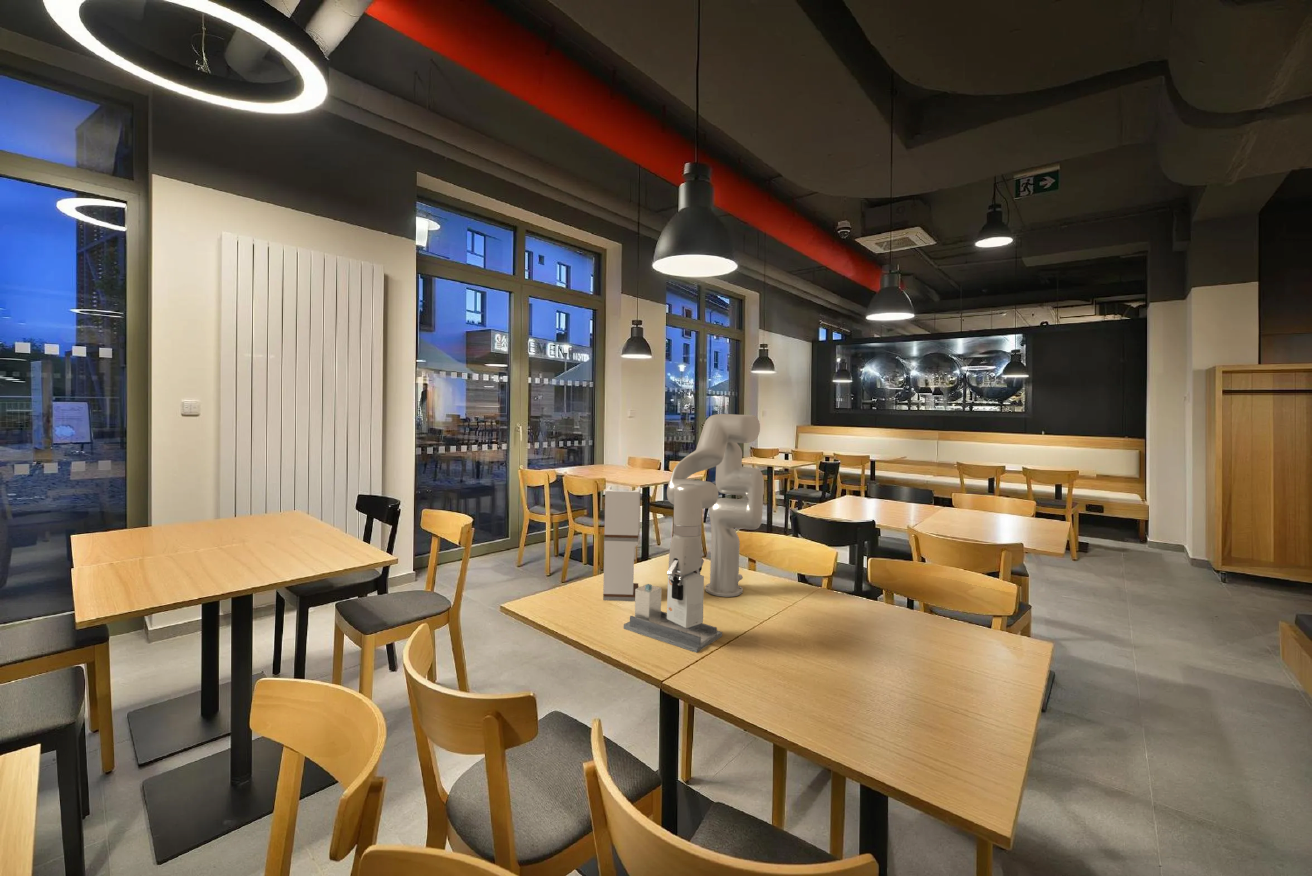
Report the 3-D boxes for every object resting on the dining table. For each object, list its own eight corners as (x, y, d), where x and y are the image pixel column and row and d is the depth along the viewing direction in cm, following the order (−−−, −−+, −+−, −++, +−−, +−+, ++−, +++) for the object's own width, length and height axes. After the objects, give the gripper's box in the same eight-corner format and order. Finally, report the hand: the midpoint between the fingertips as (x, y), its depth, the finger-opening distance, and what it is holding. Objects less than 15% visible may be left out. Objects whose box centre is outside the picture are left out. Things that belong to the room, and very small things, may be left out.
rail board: (651, 615, 167) (652, 577, 166) (721, 636, 152) (723, 594, 152) (623, 628, 156) (624, 588, 155) (696, 652, 142) (697, 608, 141)
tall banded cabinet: (636, 601, 178) (639, 492, 176) (603, 600, 178) (605, 491, 176) (638, 589, 189) (640, 486, 187) (606, 588, 190) (608, 485, 187)
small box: (703, 623, 151) (704, 575, 150) (686, 628, 146) (687, 580, 146) (683, 614, 157) (684, 568, 156) (665, 619, 153) (667, 572, 152)
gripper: (692, 523, 159) (691, 584, 160) (656, 533, 145) (655, 600, 146) (715, 527, 155) (713, 590, 156) (680, 538, 141) (678, 607, 142)
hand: (685, 594), depth 151 cm, fingers closed on small box, 7 cm apart
